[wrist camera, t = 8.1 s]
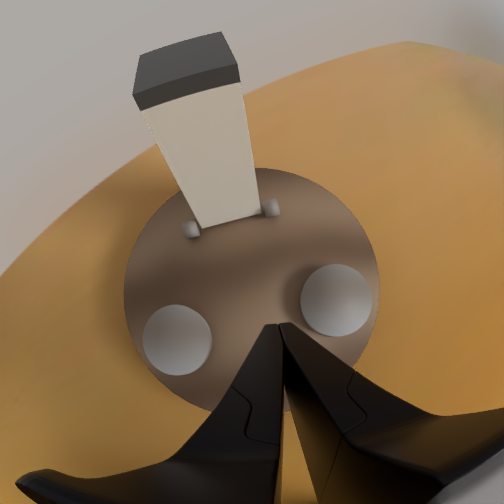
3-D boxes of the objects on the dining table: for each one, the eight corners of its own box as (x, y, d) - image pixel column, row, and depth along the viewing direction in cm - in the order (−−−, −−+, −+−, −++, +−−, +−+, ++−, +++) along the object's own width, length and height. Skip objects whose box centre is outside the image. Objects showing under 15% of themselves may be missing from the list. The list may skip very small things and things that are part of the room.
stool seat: (394, 368, 15) (418, 369, 12) (164, 423, 15) (139, 435, 12) (323, 169, 21) (328, 138, 17) (134, 219, 21) (112, 196, 17)
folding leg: (261, 213, 17) (237, 63, 8) (202, 228, 17) (132, 94, 8) (247, 168, 18) (221, 31, 9) (194, 182, 18) (140, 55, 9)
